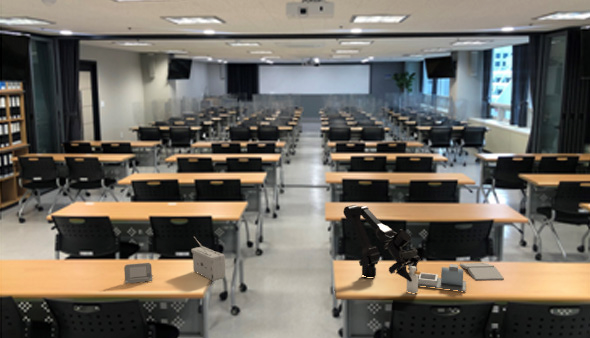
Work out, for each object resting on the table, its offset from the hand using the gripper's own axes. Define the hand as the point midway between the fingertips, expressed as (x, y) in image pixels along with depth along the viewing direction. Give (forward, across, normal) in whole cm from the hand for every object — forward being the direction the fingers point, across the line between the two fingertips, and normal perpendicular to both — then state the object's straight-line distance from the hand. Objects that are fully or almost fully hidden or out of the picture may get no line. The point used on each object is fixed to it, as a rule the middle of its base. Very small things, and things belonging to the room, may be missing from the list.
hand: (414, 279), depth 240 cm
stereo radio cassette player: (-56, -62, +66) cm, 106 cm away
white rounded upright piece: (+4, 0, +6) cm, 7 cm away
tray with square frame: (+6, +18, +3) cm, 19 cm away
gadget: (+10, +49, +1) cm, 50 cm away
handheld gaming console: (-69, -92, +79) cm, 139 cm away
